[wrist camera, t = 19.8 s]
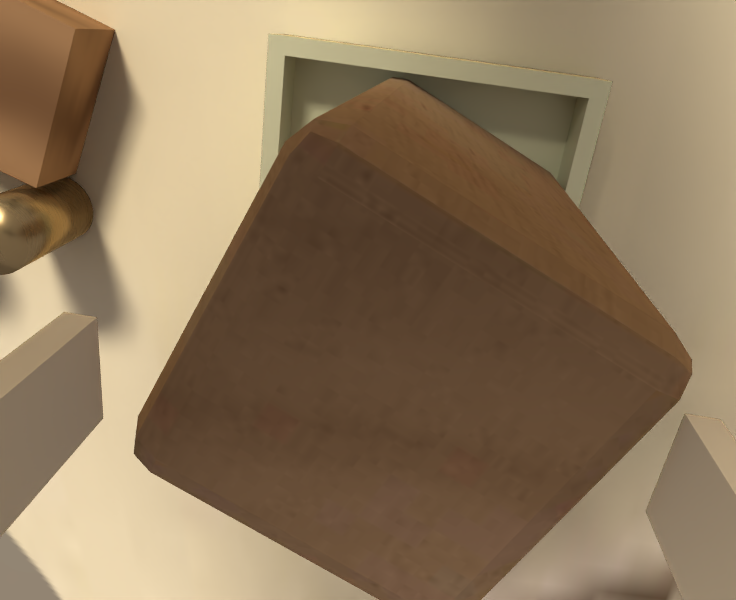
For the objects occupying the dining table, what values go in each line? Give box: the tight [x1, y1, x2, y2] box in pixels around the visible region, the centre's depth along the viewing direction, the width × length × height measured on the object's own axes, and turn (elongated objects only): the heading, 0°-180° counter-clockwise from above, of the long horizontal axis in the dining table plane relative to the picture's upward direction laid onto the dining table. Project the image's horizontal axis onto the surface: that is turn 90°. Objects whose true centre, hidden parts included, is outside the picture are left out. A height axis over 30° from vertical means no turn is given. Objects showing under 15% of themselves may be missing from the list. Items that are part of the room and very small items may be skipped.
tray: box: [259, 34, 613, 209], centre depth 31 cm, size 15×15×3 cm
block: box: [134, 77, 692, 600], centre depth 23 cm, size 10×10×20 cm
